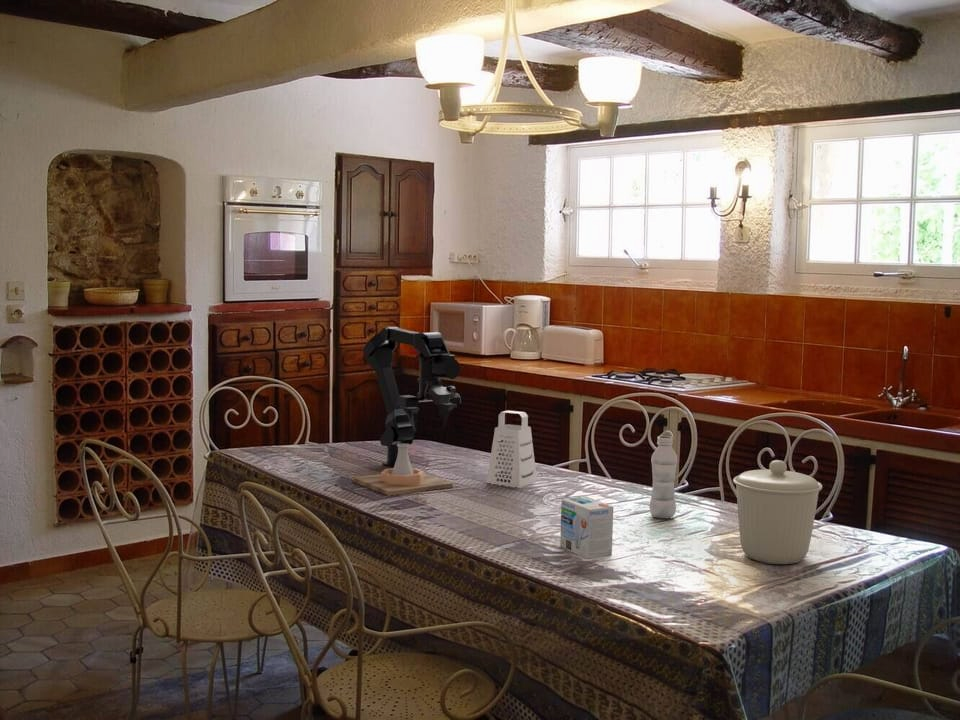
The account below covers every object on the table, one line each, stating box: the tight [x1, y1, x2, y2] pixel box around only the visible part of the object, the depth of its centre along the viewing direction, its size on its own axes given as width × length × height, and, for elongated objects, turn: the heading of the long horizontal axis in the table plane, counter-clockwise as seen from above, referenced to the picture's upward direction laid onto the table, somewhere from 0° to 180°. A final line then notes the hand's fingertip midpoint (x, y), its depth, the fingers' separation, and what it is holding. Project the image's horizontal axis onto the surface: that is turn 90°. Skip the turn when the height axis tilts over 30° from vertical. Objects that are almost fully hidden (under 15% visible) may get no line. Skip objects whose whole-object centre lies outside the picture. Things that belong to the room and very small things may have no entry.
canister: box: [732, 459, 823, 565], centre depth 214 cm, size 18×18×21 cm
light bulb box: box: [559, 495, 614, 560], centre depth 217 cm, size 11×7×11 cm, turn 29°
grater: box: [486, 410, 538, 489], centre depth 283 cm, size 10×10×20 cm
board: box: [352, 472, 453, 497], centre depth 279 cm, size 20×20×1 cm
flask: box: [391, 444, 414, 475], centre depth 279 cm, size 7×7×10 cm
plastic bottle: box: [648, 435, 679, 519], centre depth 246 cm, size 6×7×20 cm
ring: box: [380, 467, 425, 485], centre depth 279 cm, size 11×11×2 cm
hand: (428, 429), depth 293 cm, fingers open, 9 cm apart
